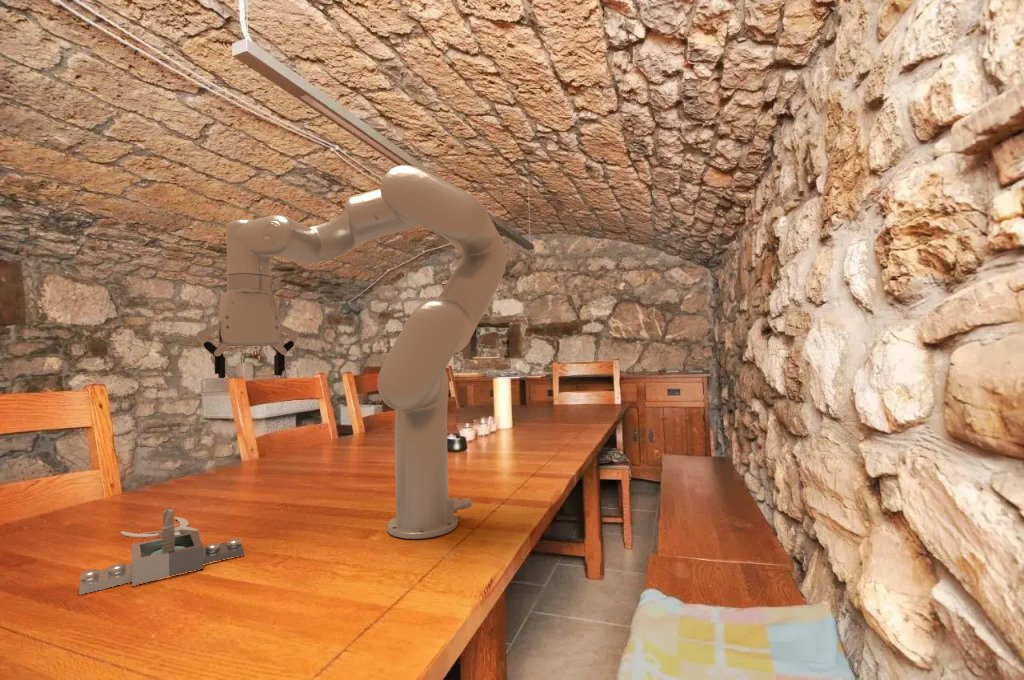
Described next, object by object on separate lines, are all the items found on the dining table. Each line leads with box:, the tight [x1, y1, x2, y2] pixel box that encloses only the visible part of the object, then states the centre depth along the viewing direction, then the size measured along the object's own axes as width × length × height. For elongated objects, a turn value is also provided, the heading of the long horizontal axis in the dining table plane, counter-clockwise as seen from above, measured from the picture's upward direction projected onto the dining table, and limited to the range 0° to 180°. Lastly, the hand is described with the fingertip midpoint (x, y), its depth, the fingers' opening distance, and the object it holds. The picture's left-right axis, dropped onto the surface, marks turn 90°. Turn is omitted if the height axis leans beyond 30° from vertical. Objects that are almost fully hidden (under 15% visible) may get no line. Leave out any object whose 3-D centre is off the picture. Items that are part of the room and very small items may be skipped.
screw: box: [151, 508, 185, 555], centre depth 76 cm, size 9×5×5 cm
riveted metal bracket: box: [78, 531, 245, 596], centre depth 76 cm, size 20×8×4 cm, turn 128°
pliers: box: [119, 516, 200, 538], centre depth 92 cm, size 10×2×15 cm
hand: (250, 376), depth 95 cm, fingers open, 9 cm apart
